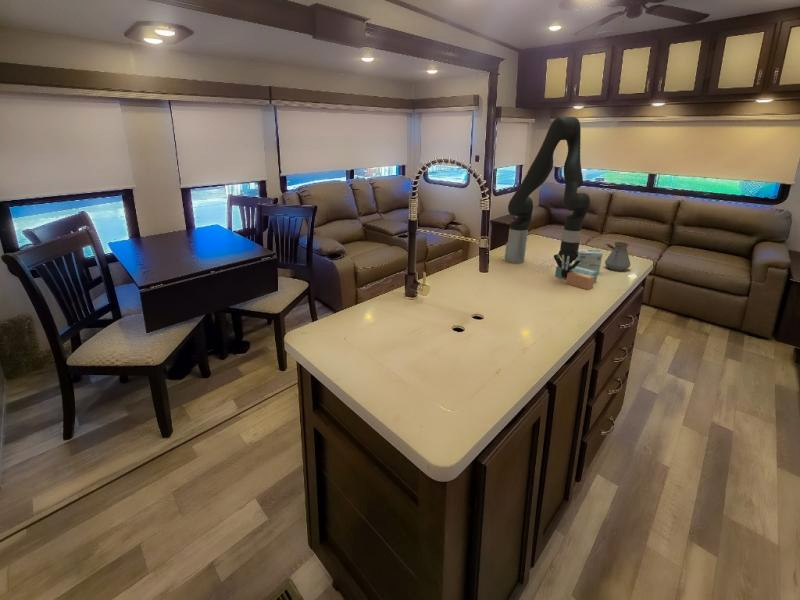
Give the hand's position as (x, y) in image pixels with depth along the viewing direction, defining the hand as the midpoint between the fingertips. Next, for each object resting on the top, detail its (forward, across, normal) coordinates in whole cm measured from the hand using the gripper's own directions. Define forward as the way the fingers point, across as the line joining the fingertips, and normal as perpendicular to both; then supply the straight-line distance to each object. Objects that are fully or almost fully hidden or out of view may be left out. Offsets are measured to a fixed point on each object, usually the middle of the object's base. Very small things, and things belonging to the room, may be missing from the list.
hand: (564, 277), depth 187 cm
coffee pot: (+2, +7, +34) cm, 34 cm away
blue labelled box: (+2, +2, +7) cm, 8 cm away
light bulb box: (+2, 0, +21) cm, 21 cm away
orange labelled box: (+2, +7, 0) cm, 8 cm away
